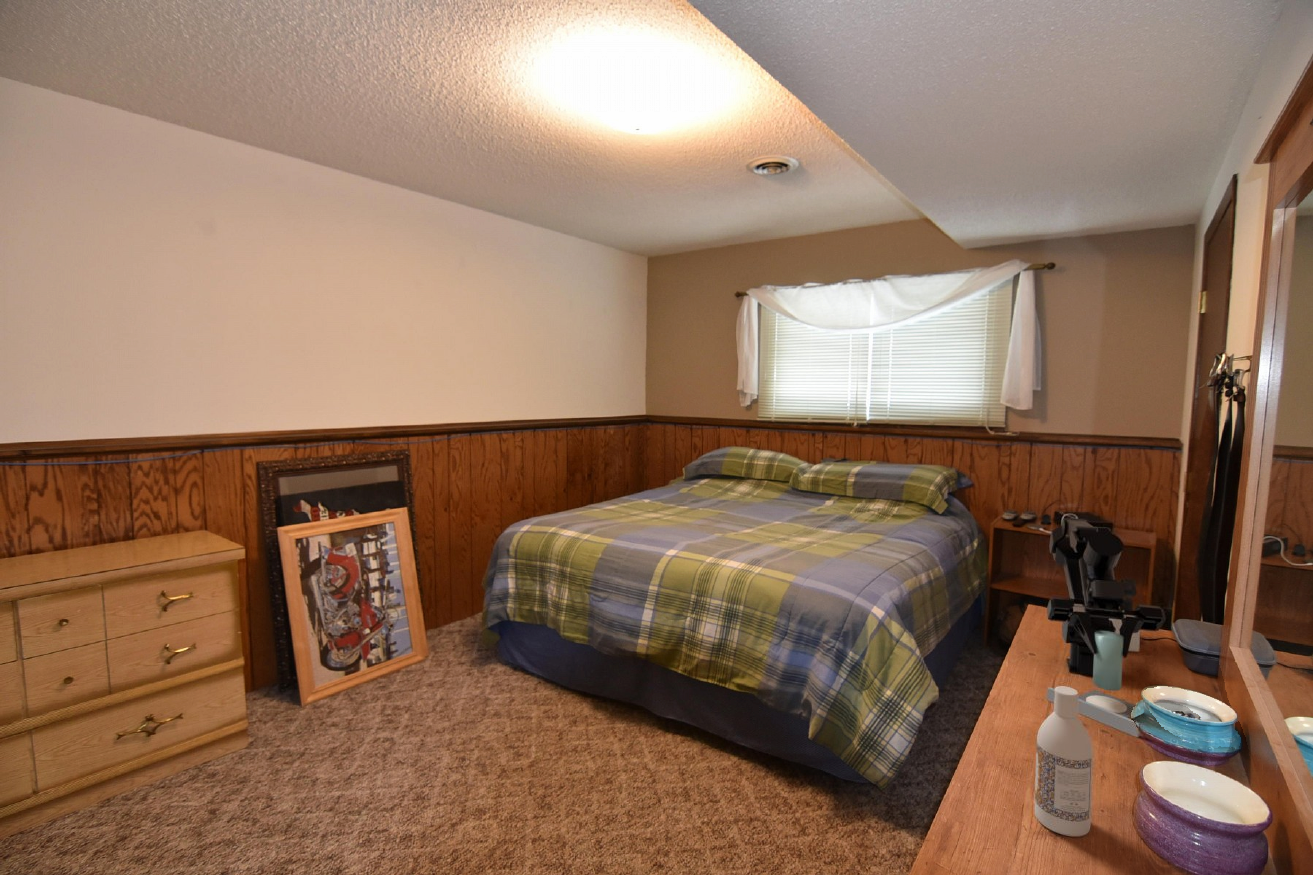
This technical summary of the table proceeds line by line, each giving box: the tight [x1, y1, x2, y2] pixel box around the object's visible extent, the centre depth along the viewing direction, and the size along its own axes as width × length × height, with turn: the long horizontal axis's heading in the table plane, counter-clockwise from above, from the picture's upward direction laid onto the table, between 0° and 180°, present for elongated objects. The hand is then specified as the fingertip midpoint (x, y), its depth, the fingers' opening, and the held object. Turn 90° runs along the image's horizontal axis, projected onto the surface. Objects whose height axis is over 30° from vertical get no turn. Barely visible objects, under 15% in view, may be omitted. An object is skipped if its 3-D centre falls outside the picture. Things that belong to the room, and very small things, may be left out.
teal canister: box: [1092, 631, 1124, 692], centre depth 125 cm, size 4×4×10 cm
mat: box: [1079, 689, 1136, 719], centre depth 126 cm, size 9×9×1 cm
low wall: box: [1046, 686, 1141, 738], centre depth 123 cm, size 16×1×2 cm, turn 29°
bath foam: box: [1034, 685, 1094, 837], centre depth 94 cm, size 7×7×20 cm
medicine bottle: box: [1109, 596, 1141, 653], centre depth 155 cm, size 7×7×12 cm
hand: (1110, 655), depth 124 cm, fingers closed on teal canister, 4 cm apart
